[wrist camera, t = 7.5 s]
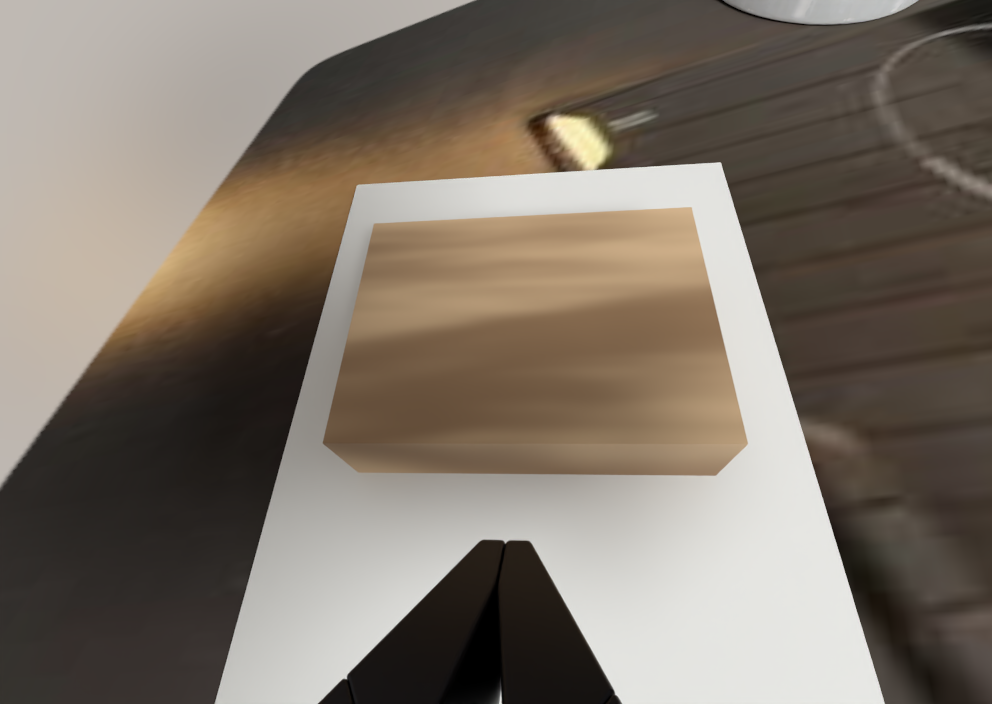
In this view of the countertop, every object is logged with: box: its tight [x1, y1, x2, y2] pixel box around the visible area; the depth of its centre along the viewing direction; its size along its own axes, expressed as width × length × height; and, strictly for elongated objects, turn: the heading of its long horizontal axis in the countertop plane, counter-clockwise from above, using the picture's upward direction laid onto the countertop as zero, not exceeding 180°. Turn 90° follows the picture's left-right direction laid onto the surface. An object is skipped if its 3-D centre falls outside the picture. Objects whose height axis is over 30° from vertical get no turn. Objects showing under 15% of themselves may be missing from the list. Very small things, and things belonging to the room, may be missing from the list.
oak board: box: [323, 207, 748, 476], centre depth 17 cm, size 3×12×9 cm
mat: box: [215, 163, 885, 704], centre depth 18 cm, size 24×18×1 cm
